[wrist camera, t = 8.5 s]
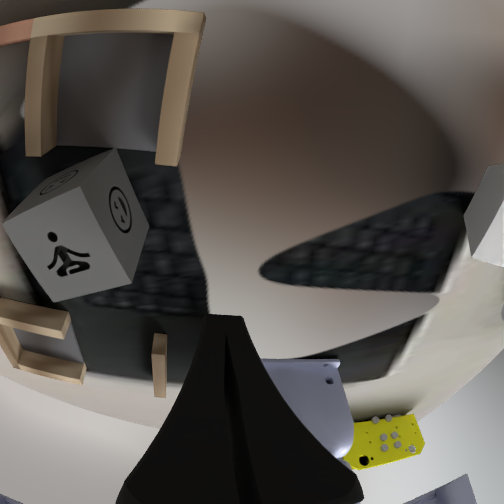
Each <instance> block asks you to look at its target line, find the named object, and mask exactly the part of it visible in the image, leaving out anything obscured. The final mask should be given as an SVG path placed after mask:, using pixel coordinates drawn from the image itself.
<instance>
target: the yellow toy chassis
mask: <svg viewBox="0 0 504 504" xmlns="http://www.w3.org/2000/svg"><path fill="white" fill-rule="evenodd" d="M353 424H354V438H353V443H352V446H351V448H350V450H349V452H348V453H347V454H346V455H345V456H343V457H341V458H342V459H343V460H345V461H347V462H349V464H350V466H351V468H352V469H357V470H362V469H367V468H371V467H375V466H379V465H383V464H387V463H391V462H395V461H398V460H402V459H405V458H409V457H412V456H415V455H418V454H420V453H421V451H422V449H423V446H424V444H425V442H424V440H423V437H422V435H421V432H420V429H419V426H418V424H417V421H416V419H415V416H414V414H410V415H405V416H401V415H400V414H398V415H394V416H391V415H387V416H385V419H380V420H379V418H378V417H376V416H375V417H373V418H372V421H365V422H357V423H355V421H353ZM414 446H415V447H414ZM415 448H416V450H415Z"/></svg>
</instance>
